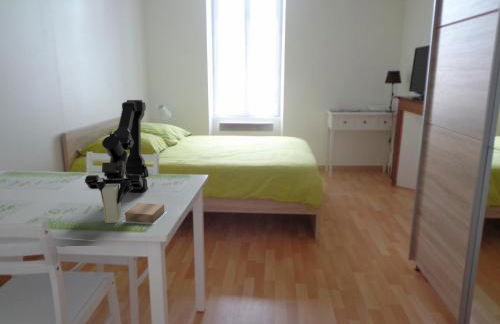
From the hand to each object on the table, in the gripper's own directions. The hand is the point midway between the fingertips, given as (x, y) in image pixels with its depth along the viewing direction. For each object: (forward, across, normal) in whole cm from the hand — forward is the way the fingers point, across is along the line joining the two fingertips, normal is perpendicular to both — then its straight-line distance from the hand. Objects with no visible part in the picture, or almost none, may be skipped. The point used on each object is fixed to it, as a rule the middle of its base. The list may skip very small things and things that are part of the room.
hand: (110, 203), depth 126 cm
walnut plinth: (+2, +11, +7) cm, 13 cm away
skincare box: (+4, 0, +6) cm, 7 cm away
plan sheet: (+2, +11, +7) cm, 13 cm away
